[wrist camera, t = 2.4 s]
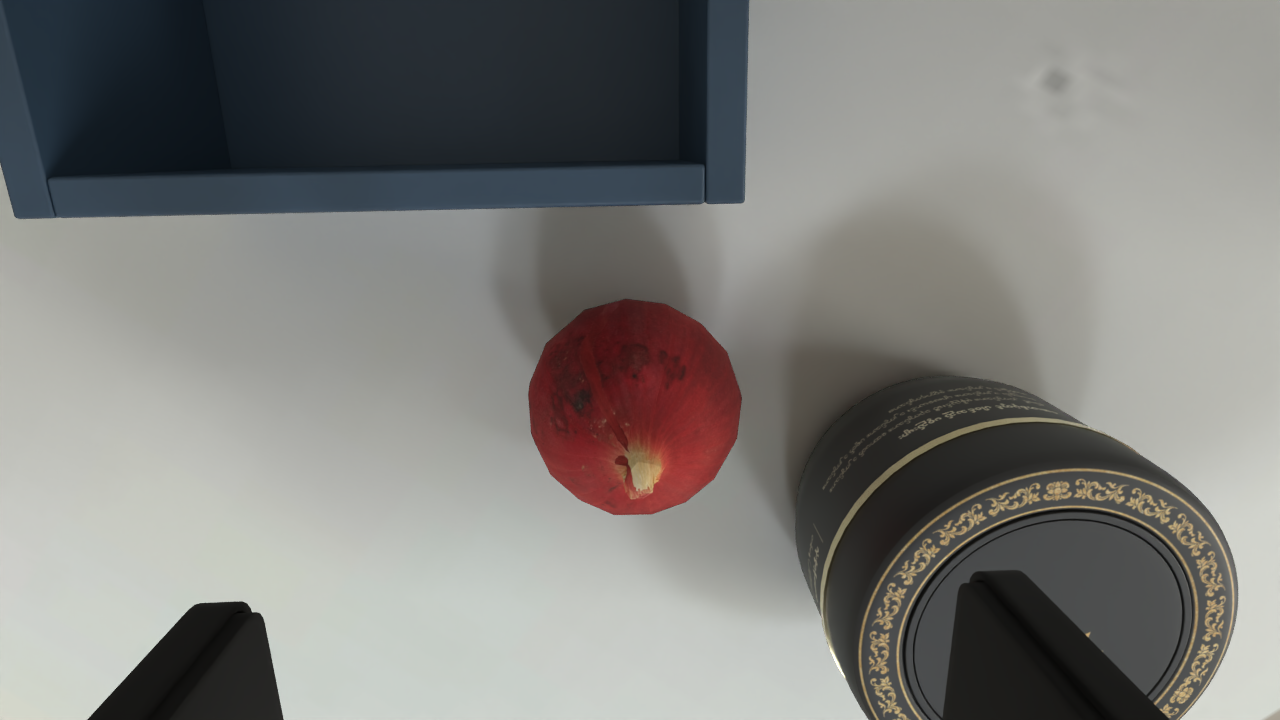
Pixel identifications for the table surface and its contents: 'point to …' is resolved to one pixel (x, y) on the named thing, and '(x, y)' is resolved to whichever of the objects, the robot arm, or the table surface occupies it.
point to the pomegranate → (634, 407)
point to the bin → (369, 105)
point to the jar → (1003, 541)
